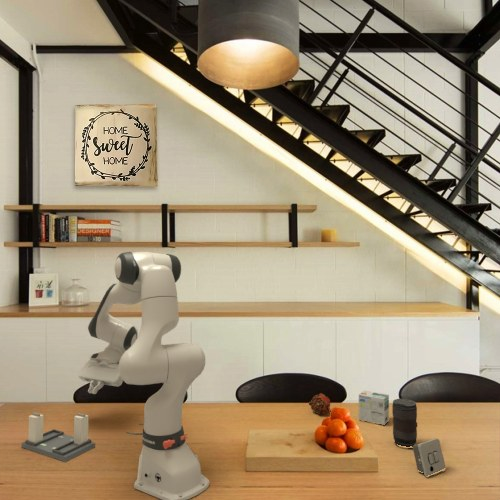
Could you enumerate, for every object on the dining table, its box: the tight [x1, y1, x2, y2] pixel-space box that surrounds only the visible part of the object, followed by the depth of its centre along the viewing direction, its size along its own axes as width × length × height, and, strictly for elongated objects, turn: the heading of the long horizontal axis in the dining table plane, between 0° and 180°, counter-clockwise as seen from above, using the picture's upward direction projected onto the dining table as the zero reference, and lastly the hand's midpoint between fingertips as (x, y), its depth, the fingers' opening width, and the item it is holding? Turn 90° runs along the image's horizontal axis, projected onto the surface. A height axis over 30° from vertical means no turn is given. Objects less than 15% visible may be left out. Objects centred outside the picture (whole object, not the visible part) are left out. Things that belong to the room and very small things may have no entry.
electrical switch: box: [412, 437, 447, 476], centre depth 131 cm, size 9×5×9 cm, turn 121°
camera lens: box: [391, 398, 418, 447], centre depth 149 cm, size 8×8×15 cm
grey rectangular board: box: [21, 428, 96, 463], centre depth 145 cm, size 22×12×2 cm, turn 62°
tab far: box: [27, 412, 44, 443], centre depth 145 cm, size 4×3×10 cm
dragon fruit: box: [308, 392, 331, 416], centre depth 179 cm, size 8×8×12 cm
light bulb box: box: [358, 390, 390, 426], centre depth 170 cm, size 11×7×11 cm, turn 58°
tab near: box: [73, 412, 89, 445], centre depth 145 cm, size 4×3×10 cm
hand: (91, 392), depth 158 cm, fingers closed
